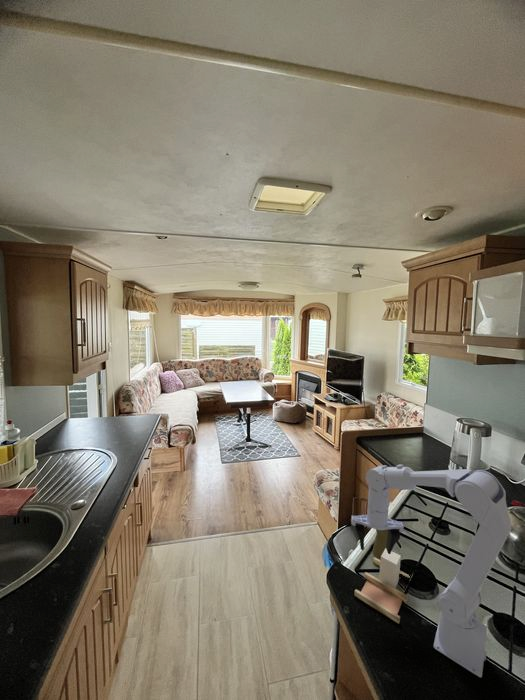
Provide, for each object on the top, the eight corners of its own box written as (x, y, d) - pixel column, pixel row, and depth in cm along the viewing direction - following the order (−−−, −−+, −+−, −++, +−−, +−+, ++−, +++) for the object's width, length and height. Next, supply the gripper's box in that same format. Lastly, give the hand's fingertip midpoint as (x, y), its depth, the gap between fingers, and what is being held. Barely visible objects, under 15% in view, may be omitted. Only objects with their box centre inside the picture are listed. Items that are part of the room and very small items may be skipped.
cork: (386, 547, 103) (388, 518, 102) (394, 561, 97) (397, 530, 96) (369, 547, 103) (371, 518, 102) (376, 561, 97) (379, 530, 96)
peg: (398, 579, 90) (400, 555, 89) (394, 589, 87) (396, 564, 86) (383, 571, 93) (385, 548, 92) (379, 580, 90) (380, 556, 89)
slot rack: (413, 582, 89) (414, 577, 89) (398, 623, 77) (399, 618, 77) (374, 561, 97) (374, 557, 97) (354, 595, 84) (354, 590, 84)
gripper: (399, 501, 90) (396, 543, 91) (351, 496, 93) (348, 536, 94) (407, 516, 83) (403, 561, 84) (354, 509, 86) (351, 553, 87)
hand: (375, 549), depth 89 cm, fingers open, 7 cm apart
